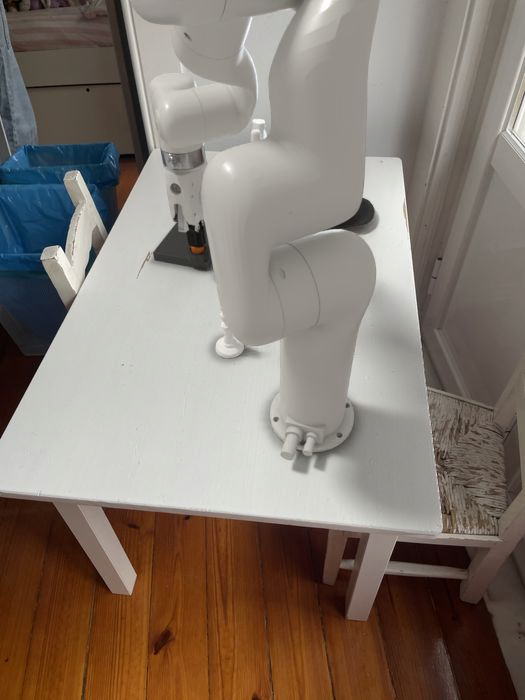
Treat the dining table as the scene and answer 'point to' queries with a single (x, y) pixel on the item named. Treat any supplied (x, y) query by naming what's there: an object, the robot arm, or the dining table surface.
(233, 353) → the chess piece
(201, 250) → the button
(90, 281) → the dining table surface
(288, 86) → the robot arm
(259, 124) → the figurine
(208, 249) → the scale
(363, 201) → the casserole
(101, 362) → the dining table surface
